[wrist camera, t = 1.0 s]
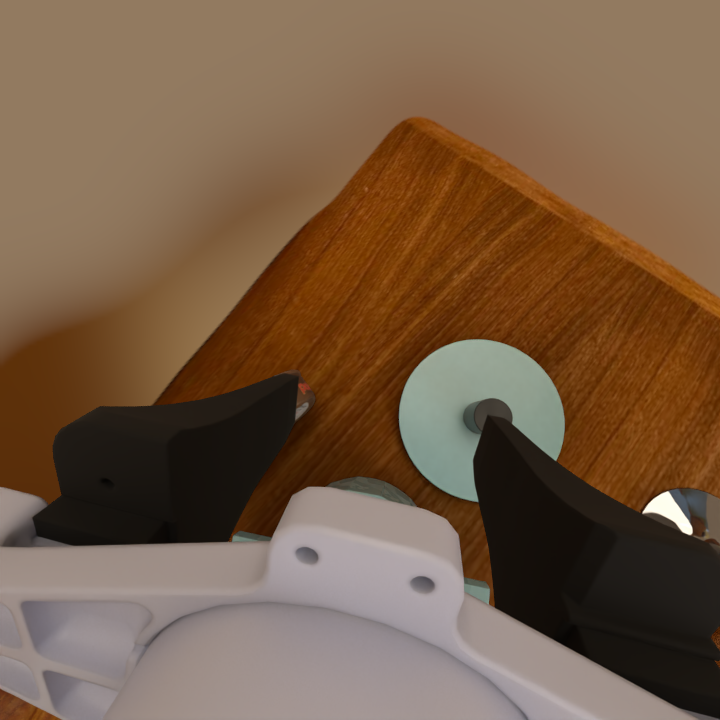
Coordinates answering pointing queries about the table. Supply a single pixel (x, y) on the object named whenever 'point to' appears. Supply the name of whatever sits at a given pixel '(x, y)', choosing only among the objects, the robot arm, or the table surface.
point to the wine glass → (688, 513)
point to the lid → (474, 408)
